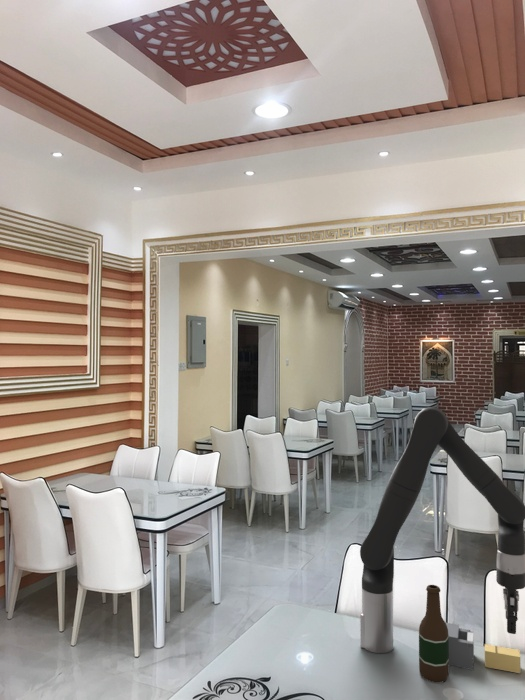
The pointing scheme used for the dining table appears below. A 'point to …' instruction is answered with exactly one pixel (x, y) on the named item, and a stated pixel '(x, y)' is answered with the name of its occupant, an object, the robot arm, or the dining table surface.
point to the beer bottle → (433, 640)
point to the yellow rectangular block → (502, 658)
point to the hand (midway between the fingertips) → (510, 626)
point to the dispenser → (460, 646)
